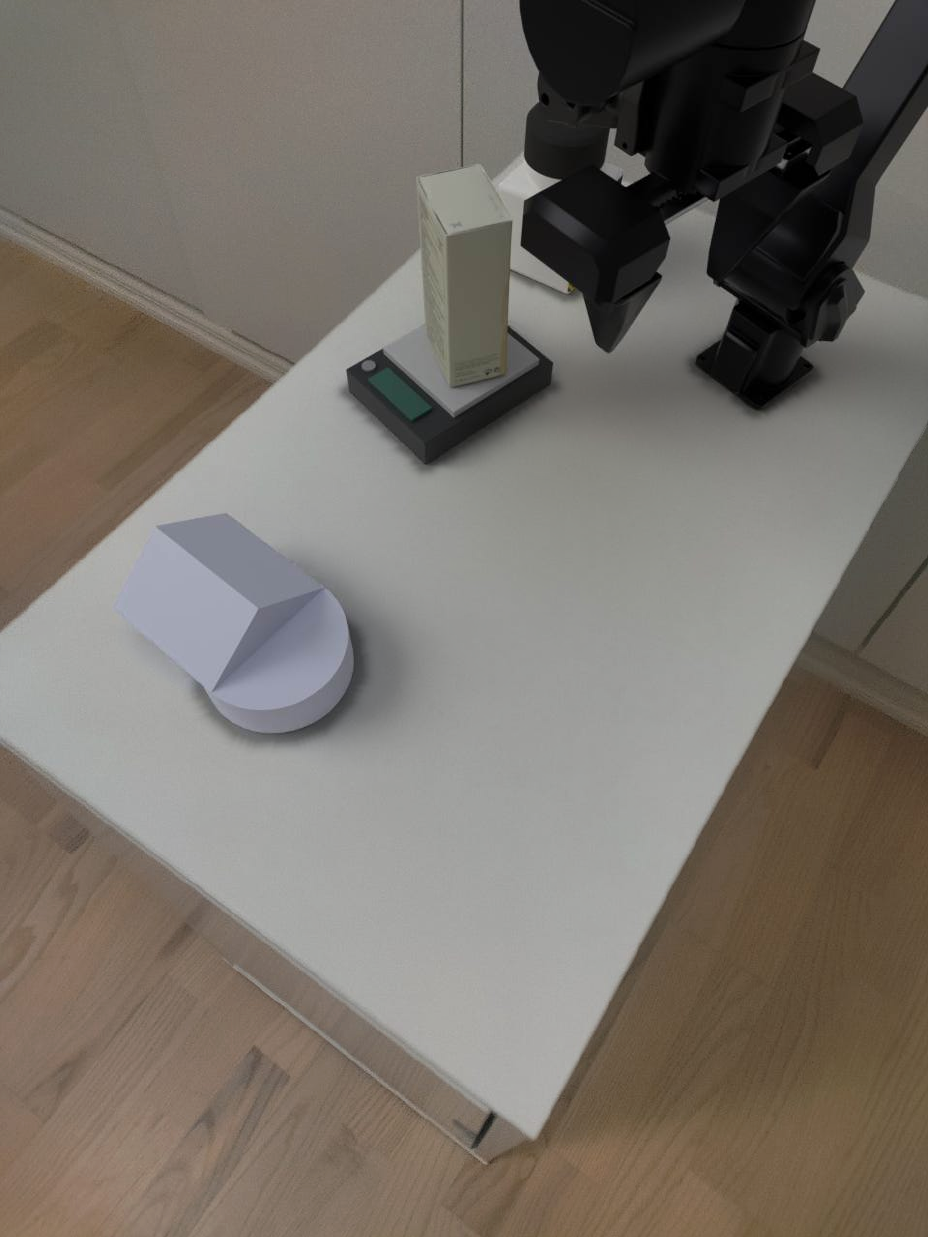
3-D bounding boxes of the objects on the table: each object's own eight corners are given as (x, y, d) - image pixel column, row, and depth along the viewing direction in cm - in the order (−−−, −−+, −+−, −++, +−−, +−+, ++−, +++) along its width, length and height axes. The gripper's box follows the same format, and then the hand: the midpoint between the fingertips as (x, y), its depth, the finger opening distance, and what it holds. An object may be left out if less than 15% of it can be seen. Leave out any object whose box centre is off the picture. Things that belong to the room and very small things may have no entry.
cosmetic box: (506, 376, 61) (518, 222, 51) (446, 390, 61) (445, 237, 50) (478, 317, 64) (483, 160, 54) (420, 329, 64) (414, 173, 53)
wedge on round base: (130, 635, 54) (278, 763, 50) (91, 577, 48) (255, 716, 44) (237, 543, 57) (384, 656, 53) (213, 478, 52) (376, 599, 48)
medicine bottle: (568, 297, 70) (589, 153, 59) (493, 263, 71) (500, 118, 61) (610, 248, 73) (637, 103, 62) (537, 217, 74) (551, 71, 64)
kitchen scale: (472, 319, 68) (473, 289, 66) (550, 384, 65) (554, 356, 62) (348, 391, 64) (344, 362, 62) (425, 464, 61) (424, 437, 58)
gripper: (739, -117, 43) (669, 181, 56) (445, 7, 36) (446, 307, 50) (931, -27, 38) (805, 271, 52) (637, 129, 32) (581, 421, 46)
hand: (660, 311), depth 50 cm, fingers open, 9 cm apart
